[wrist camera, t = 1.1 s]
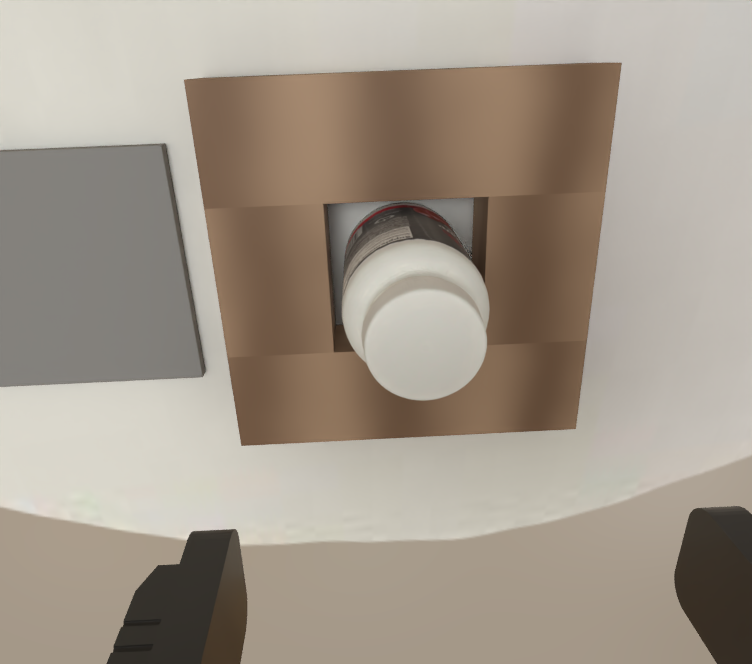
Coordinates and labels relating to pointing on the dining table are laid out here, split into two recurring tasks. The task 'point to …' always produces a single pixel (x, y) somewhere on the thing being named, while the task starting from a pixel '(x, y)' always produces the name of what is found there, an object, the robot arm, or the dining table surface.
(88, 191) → the charcoal mat
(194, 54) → the dining table surface
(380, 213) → the pill bottle
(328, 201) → the walnut dock
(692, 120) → the dining table surface
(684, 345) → the dining table surface
